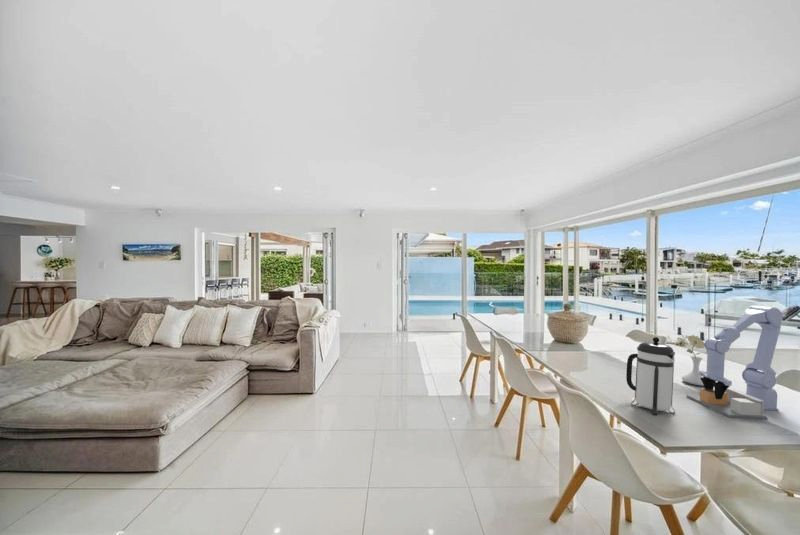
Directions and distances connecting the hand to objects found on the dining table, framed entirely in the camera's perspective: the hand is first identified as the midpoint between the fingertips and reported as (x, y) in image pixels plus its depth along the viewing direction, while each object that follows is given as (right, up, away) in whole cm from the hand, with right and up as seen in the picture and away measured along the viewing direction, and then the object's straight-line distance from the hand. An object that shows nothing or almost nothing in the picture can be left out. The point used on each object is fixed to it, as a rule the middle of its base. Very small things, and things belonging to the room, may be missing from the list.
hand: (713, 396), depth 157 cm
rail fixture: (+2, -4, -3) cm, 5 cm away
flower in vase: (+16, -4, +30) cm, 35 cm away
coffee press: (-34, -2, -8) cm, 35 cm away
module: (0, -2, 0) cm, 2 cm away
